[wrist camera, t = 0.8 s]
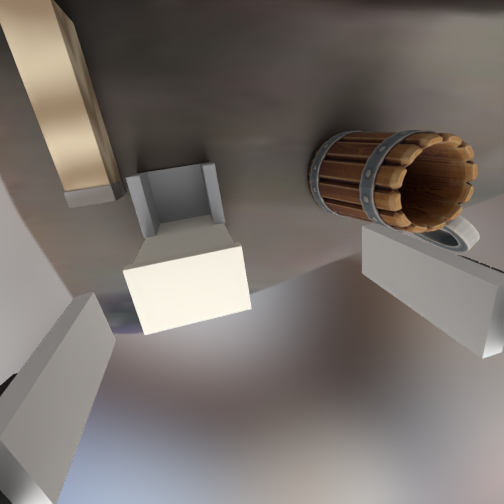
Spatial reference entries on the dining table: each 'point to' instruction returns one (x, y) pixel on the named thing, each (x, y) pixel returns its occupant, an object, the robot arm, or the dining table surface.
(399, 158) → the mug
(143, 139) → the dining table surface
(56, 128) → the rail
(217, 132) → the dining table surface
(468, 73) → the dining table surface
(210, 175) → the u-notched block
